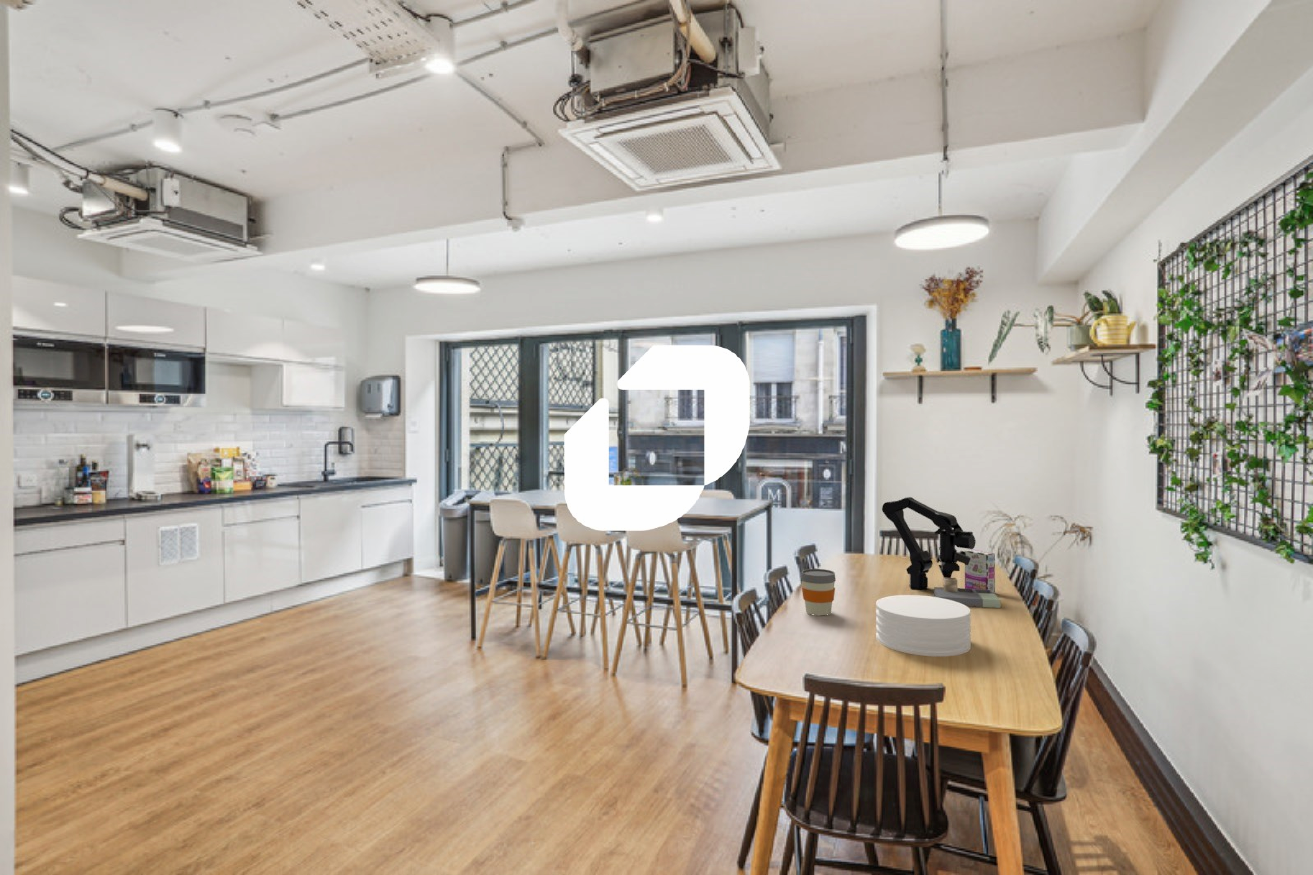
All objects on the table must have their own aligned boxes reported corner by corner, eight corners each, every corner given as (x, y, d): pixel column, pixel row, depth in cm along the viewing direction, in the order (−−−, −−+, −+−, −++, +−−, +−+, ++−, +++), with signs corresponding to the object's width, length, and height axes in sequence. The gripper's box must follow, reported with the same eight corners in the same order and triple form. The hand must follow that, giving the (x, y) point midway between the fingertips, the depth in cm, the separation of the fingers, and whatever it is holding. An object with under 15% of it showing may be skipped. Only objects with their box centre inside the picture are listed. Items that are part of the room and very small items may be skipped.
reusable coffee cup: (832, 608, 250) (832, 568, 249) (838, 617, 237) (838, 576, 237) (799, 607, 251) (798, 568, 251) (803, 617, 238) (802, 576, 238)
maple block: (945, 591, 261) (945, 579, 261) (943, 588, 265) (943, 577, 265) (957, 591, 260) (957, 580, 260) (955, 589, 264) (955, 577, 264)
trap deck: (940, 604, 252) (940, 596, 252) (934, 594, 268) (934, 587, 268) (1000, 607, 247) (1000, 600, 247) (990, 597, 262) (990, 589, 262)
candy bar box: (995, 593, 268) (995, 553, 268) (987, 594, 266) (987, 554, 266) (972, 587, 279) (972, 548, 278) (964, 588, 276) (963, 549, 276)
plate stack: (912, 661, 193) (912, 622, 193) (859, 632, 220) (858, 598, 220) (991, 651, 200) (991, 614, 200) (930, 625, 227) (930, 592, 227)
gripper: (973, 550, 257) (973, 590, 257) (964, 542, 275) (964, 579, 275) (942, 549, 260) (943, 589, 260) (935, 541, 278) (936, 578, 278)
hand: (947, 583), depth 269 cm, fingers closed
